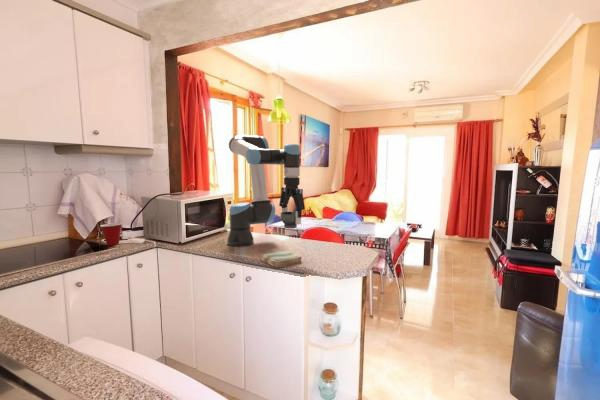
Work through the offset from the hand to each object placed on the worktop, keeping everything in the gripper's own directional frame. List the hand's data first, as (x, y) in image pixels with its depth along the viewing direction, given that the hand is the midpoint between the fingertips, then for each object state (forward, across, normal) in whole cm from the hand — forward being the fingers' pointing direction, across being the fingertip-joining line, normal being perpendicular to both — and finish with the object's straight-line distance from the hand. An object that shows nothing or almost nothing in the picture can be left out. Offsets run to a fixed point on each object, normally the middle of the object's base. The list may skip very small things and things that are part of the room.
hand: (291, 222), depth 143 cm
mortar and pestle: (+2, 0, 0) cm, 2 cm away
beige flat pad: (+18, +1, -7) cm, 19 cm away
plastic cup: (+18, -82, -65) cm, 106 cm away
